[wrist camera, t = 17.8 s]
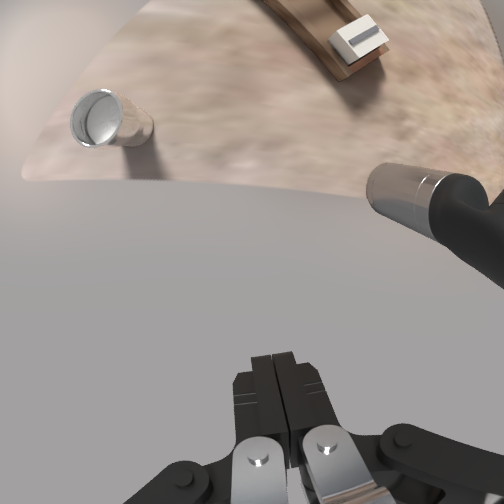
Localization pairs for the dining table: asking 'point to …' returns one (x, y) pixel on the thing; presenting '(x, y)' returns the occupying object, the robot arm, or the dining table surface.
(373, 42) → the slider block
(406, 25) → the dining table surface
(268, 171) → the dining table surface
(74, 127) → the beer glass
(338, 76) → the wooden tray
